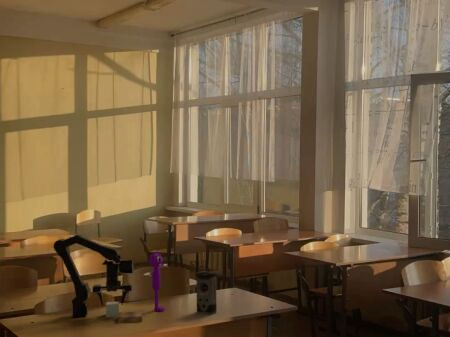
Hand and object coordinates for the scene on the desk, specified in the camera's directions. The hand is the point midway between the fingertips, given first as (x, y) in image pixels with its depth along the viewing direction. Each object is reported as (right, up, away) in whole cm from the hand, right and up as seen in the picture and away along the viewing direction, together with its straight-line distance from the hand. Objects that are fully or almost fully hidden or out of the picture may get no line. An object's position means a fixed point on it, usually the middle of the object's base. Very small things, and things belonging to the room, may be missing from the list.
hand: (112, 305), depth 299 cm
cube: (0, -5, 0) cm, 5 cm away
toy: (+21, -5, +9) cm, 23 cm away
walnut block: (+10, -5, -8) cm, 14 cm away
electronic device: (+46, -5, +4) cm, 46 cm away
